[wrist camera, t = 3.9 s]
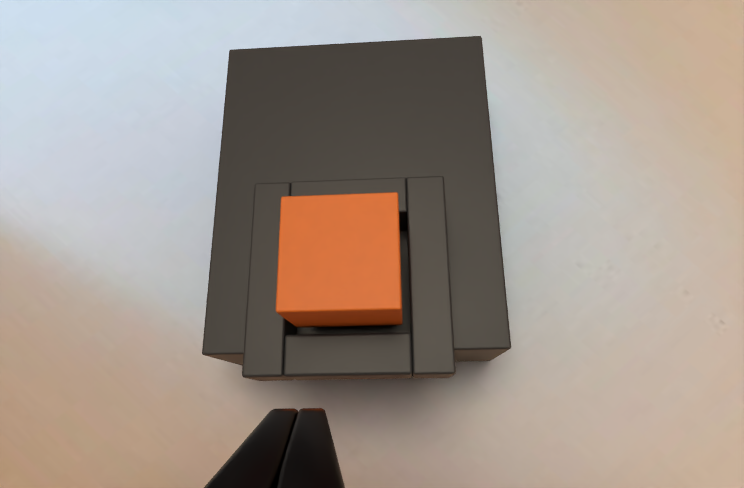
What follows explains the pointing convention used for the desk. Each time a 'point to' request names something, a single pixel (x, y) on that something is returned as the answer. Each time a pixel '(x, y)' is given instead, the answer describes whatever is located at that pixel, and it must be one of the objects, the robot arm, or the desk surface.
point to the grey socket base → (359, 176)
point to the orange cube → (339, 260)
